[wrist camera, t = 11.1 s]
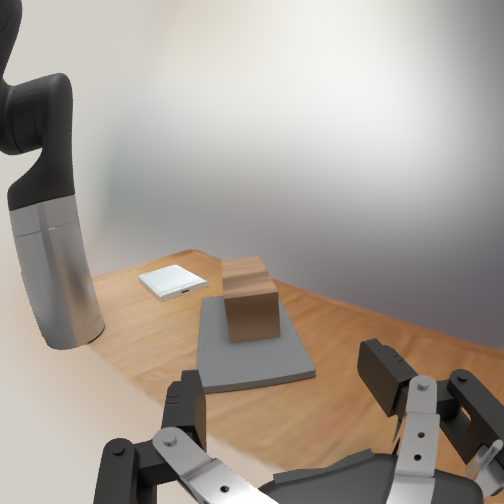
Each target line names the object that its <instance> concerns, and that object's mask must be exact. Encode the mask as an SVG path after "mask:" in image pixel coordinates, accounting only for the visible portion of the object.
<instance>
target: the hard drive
mask: <svg viewBox="0 0 504 504" xmlns="http://www.w3.org/2000/svg"><path fill="white" fill-rule="evenodd" d="M139 281H140V282H141V283H142V284H143V285H144V286H145V287H146V288H147V289H148V290H149V291H150V292H151V293H152V294H154V295H155V296H156V297H157V298H158V299H159V300H160V301H161V302H163V301H166V300H169V299H172V298H175V297H178V296H181V295H184V294H187V293H190V292H193V291H196V290H199V289H202V288H205V287H208V282H207V281H205V280H204V279H202V278H200V277H198V276H196V275H194V274H192V273H191V272H189V271H187V270H185V269H183V268H181V267H180V266H178V265H172V266H169V267H165V268H162V269H159V270H155V271H152V272H149V273H145V274H142V275H140V276H139Z"/></svg>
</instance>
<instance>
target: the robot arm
mask: <svg viewBox="0 0 504 504" xmlns="http://www.w3.org/2000/svg"><path fill="white" fill-rule="evenodd" d="M21 18H22V2H21V0H0V151H2V152H3V153H5V154H8V155H19V154H23V153H26V152H29V151H33V150H36V149H40V148H42V152H41V155H40V157H39V158H38V160H37V161H36V162H35V164H34V165H33V166H32V167H31V168H30V170H29V171H27V172H26V173H25V174H24V175H23V176H22V177H21V178H19V179H18V180H17V181H16V182H14V183H13V184H12V185H11V186H10V188H9V190H8V193H7V197H8V206H9V211H10V212H9V213H10V220H11V226H12V231H13V236H14V241H15V246H16V250H17V255H18V259H19V263H20V267H21V271H22V273H21V274H22V278H23V282H24V285H25V288H26V292H27V295H28V298H29V301H30V304H31V307H32V310H33V313H34V315H35V318H36V321H37V323H38V326H39V329H40V331H41V334H42V336H43V337H44V339H45V341H46V343H47V345H48V346H49V347H51V348H53V349H58V350H66V349H72V348H75V347H79V346H81V345H84V344H86V343H88V342H90V341H92V340H93V339H94V338H96V337H97V336H98V335H99V334H100V333H101V332H102V330H103V329H104V320H103V317H102V314H101V311H100V308H99V304H98V301H97V297H96V294H95V290H94V286H93V283H92V279H91V275H90V271H89V267H88V262H87V258H86V254H85V249H84V244H83V240H82V234H81V229H80V224H79V218H78V211H77V205H76V197H75V195H74V194H75V189H74V180H73V165H72V139H71V138H72V111H73V97H72V87H71V83H70V80H69V79H68V77H67V76H66V75H65V74H63V73H56V74H52V75H48V76H44V77H41V78H38V79H34V80H31V81H28V82H25V83H22V84H19V85H17V86H10V85H8V84H7V83H6V82H5V81H4V79H3V73H4V70H5V68H6V65H7V62H8V60H9V57H10V54H11V51H12V49H13V46H14V43H15V41H16V38H17V34H18V31H19V27H20V23H21ZM357 368H358V373H359V376H360V377H361V379H362V380H363V382H364V383H365V384H366V386H367V387H368V389H369V390H370V392H371V393H372V395H373V396H374V397H375V399H376V400H377V402H378V403H379V405H380V406H381V408H382V409H383V411H384V412H385V414H386V415H387V417H391V416H393V415H397V416H398V419H397V422H396V426H395V431H394V435H393V439H392V443H391V447H390V451H389V453H388V454H386V453H377V454H373V453H372V451H371V449H367V450H364V451H361V452H358V453H355V454H352V455H349V456H347V457H345V458H344V459H342V460H340V461H338V462H336V463H334V464H333V465H331V466H329V467H327V468H318V469H297V470H293V471H288V472H282V473H277V474H273V478H274V480H273V481H270V482H268V483H266V484H264V485H262V486H261V487H259V488H258V489H256V488H255V487H254V486H252V485H251V484H250V483H248V482H247V481H246V480H244V479H243V478H242V477H240V476H239V475H238V474H236V473H235V472H234V471H232V470H231V469H230V468H229V467H228V466H227V465H225V464H224V463H223V462H222V461H220V460H218V459H217V458H215V459H213V458H211V457H210V456H209V455H208V454H207V453H206V398H205V393H204V389H203V385H202V381H201V377H200V374H199V370H198V369H197V370H184V371H182V376H181V381H174V382H172V384H171V385H170V386H169V388H168V389H167V395H166V401H165V407H164V413H163V420H162V426H161V430H159V431H158V432H157V433H156V434H155V435H154V437H153V439H151V440H149V441H146V442H141V443H137V444H132V443H131V442H130V441H129V440H127V439H124V438H117V439H113V440H111V441H109V442H108V443H107V444H106V445H105V447H104V449H103V454H102V458H101V463H100V468H99V473H98V478H97V484H96V489H95V495H94V503H93V504H157V485H159V484H163V483H167V482H171V481H175V480H176V481H177V482H178V483H179V484H180V485H181V486H182V487H183V488H184V489H185V490H186V491H187V492H188V493H189V494H190V495H191V496H192V497H193V498H194V499H195V500H196V501H197V502H198V503H199V504H484V500H485V499H487V498H488V497H489V496H495V495H497V494H499V493H500V492H501V491H502V490H503V489H504V406H503V405H502V404H501V403H500V402H499V401H498V400H497V399H496V398H495V397H494V396H493V395H492V394H491V393H490V391H489V390H488V389H487V388H486V387H485V386H484V385H483V384H482V383H481V382H480V381H479V380H478V379H477V378H476V377H475V376H474V375H473V374H472V373H471V372H469V371H467V370H463V369H458V370H455V371H453V372H452V373H451V375H450V378H449V379H448V380H442V381H435V380H434V379H433V378H431V377H429V376H426V375H418V374H417V373H416V372H415V371H414V370H413V369H412V368H411V366H410V365H409V364H408V363H407V362H406V361H405V360H404V359H403V358H402V357H401V356H399V354H398V353H397V352H396V351H395V350H394V349H393V348H391V347H389V346H387V345H384V346H383V345H382V344H381V343H380V342H379V341H378V340H377V339H376V338H374V339H370V340H366V341H363V342H361V344H360V350H359V357H358V365H357ZM462 407H463V408H464V409H465V410H466V411H467V412H468V414H469V415H470V417H471V421H470V420H469V418H468V417H467V416H466V415H465V414H464V412H463V411H462V410H461V409H462ZM439 427H440V428H441V429H442V431H443V432H444V434H445V435H446V436H447V438H448V439H449V441H450V442H451V444H452V445H453V447H454V448H455V450H456V451H457V452H458V454H459V455H460V457H461V458H462V460H463V461H464V463H465V464H466V470H465V473H466V477H462V476H458V475H454V474H451V473H447V472H444V471H440V470H437V469H435V462H436V455H437V446H438V436H439Z"/></svg>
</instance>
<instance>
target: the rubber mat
mask: <svg viewBox="0 0 504 504" xmlns="http://www.w3.org/2000/svg"><path fill="white" fill-rule="evenodd" d="M278 299H279V297H278ZM279 317H280V336H281V337H277V338H270V339H264V340H257V341H250V342H243V343H235V344H231V343H230V337H229V330H228V324H227V317H226V310H225V303H224V296H218V297H209V298H202V305H201V316H200V328H199V341H198V354H197V369H198V370H199V374H200V377H201V381H202V385H203V389H204V393H216V392H226V391H234V390H242V389H250V388H257V387H263V386H270V385H276V384H281V383H287V382H292V381H297V380H302V379H307V378H312V377H315V371H316V370H315V368H314V366H313V364H312V362H311V360H310V358H309V356H308V354H307V352H306V350H305V348H304V346H303V344H302V342H301V340H300V338H299V336H298V334H297V332H296V330H295V328H294V327H293V325H292V323H291V321H290V319H289V317H288V315H287V313H286V311H285V309H284V307H283V305H282V303H281V301H280V299H279ZM197 369H196V370H197Z"/></svg>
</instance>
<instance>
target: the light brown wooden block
mask: <svg viewBox="0 0 504 504" xmlns="http://www.w3.org/2000/svg"><path fill="white" fill-rule="evenodd" d="M221 265H222V279H223V293H224V303H225V310H226V317H227V324H228V330H229V337H230V343H231V344H235V343H243V342H250V341H257V340H264V339H270V338H277V337H281V336H280V317H279V299H278V291H277V289H276V287H275V285H274V283H273V281H272V279H271V278H270V276H269V274H268V272H267V270H266V268H265V266H264V264H263V262H262V261H261V259H260V257H259V256H255V257H247V258H239V259H231V260H222V261H221Z"/></svg>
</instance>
